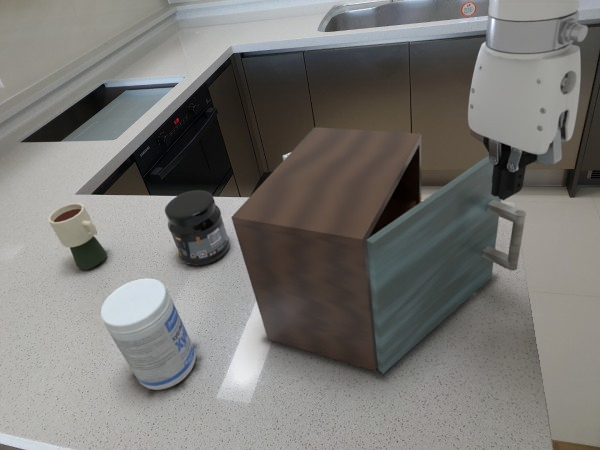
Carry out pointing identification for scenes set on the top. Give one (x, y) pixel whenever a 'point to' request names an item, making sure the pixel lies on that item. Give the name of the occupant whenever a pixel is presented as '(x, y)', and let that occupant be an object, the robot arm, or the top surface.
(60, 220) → the character mug
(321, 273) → the cupboard
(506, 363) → the top surface
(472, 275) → the cupboard door
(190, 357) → the supplement tub
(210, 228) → the supplement container
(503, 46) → the robot arm
